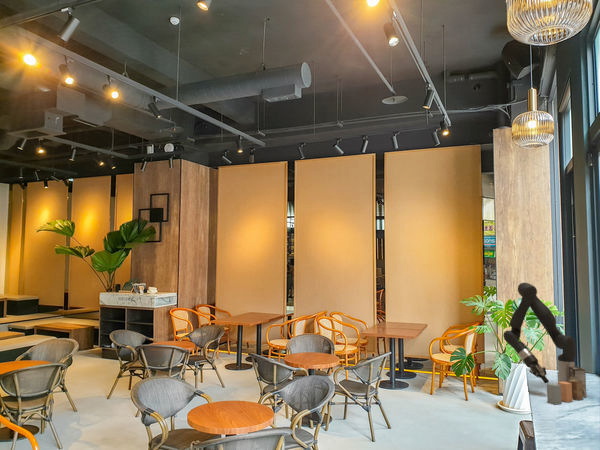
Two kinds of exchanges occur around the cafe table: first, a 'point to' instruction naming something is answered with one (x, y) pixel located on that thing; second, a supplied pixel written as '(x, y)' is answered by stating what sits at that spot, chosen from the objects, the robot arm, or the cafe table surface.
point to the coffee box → (578, 377)
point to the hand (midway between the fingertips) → (547, 382)
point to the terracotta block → (566, 391)
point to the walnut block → (576, 389)
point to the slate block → (554, 393)
